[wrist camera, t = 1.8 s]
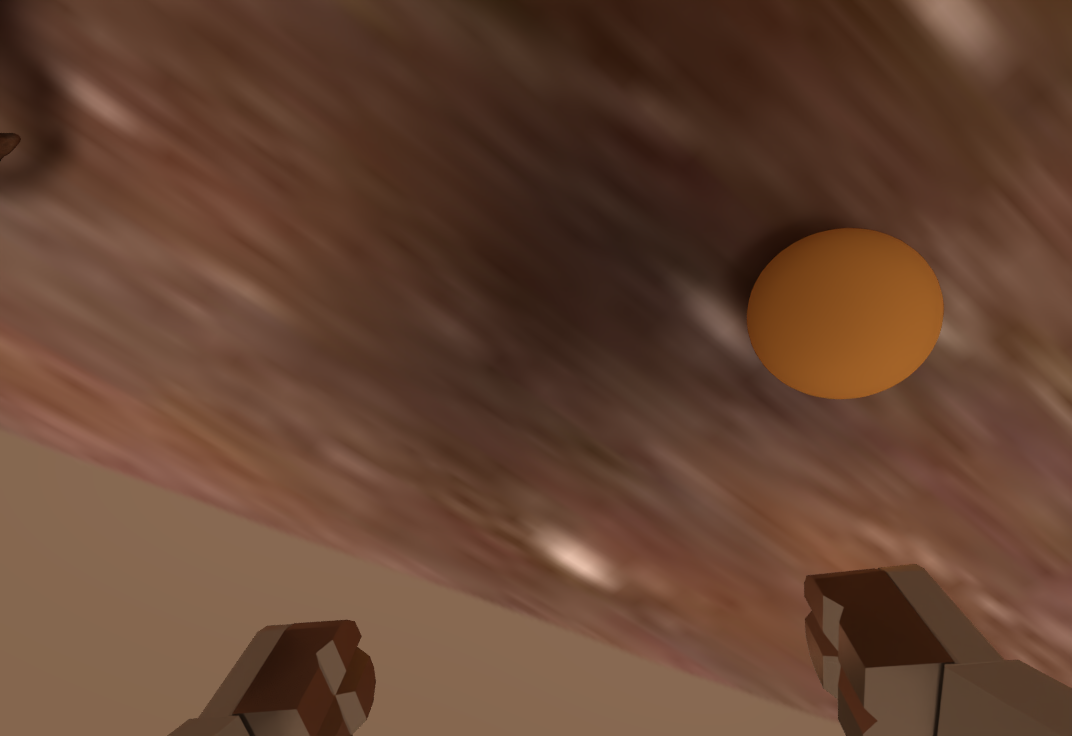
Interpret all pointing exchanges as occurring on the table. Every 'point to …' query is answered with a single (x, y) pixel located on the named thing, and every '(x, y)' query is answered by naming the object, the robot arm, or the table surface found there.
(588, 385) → the table surface
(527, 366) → the table surface
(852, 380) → the ball
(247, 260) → the table surface
